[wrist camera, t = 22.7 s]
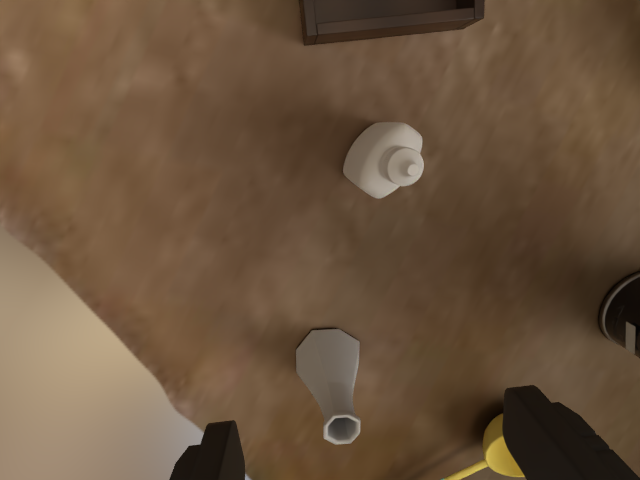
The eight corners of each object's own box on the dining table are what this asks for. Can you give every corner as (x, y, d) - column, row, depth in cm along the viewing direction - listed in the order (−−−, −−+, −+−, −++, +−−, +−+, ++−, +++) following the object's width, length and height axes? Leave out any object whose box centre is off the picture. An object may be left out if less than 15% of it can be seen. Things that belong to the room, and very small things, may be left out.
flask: (306, 319, 37) (314, 386, 28) (369, 335, 39) (398, 403, 29) (285, 375, 39) (287, 456, 30) (347, 388, 40) (366, 469, 31)
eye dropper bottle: (404, 161, 33) (468, 180, 22) (350, 189, 33) (385, 223, 22) (385, 116, 32) (444, 112, 20) (329, 146, 32) (356, 158, 21)
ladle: (557, 427, 44) (584, 476, 39) (372, 484, 53) (376, 530, 47) (531, 384, 41) (558, 431, 36) (340, 452, 49) (340, 498, 44)
